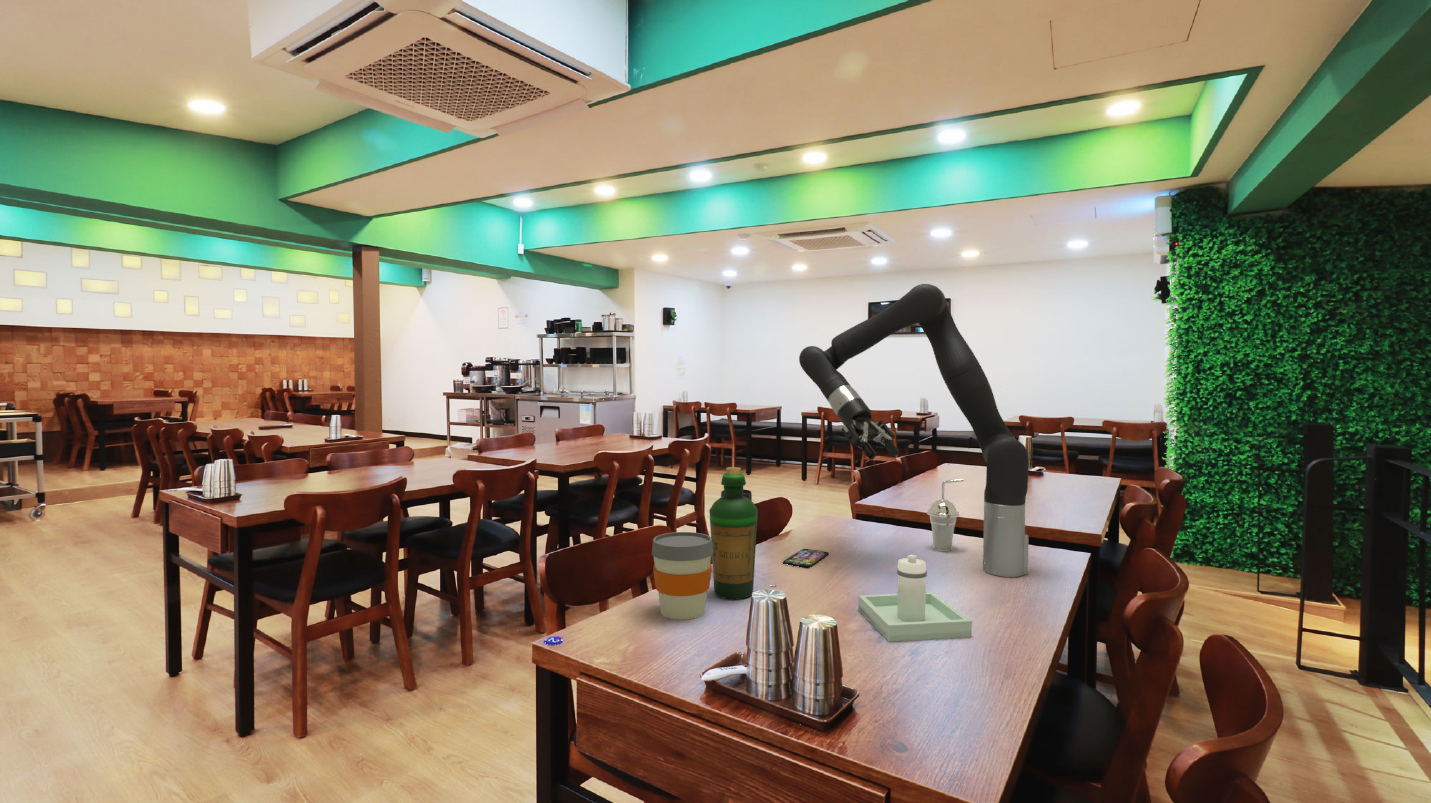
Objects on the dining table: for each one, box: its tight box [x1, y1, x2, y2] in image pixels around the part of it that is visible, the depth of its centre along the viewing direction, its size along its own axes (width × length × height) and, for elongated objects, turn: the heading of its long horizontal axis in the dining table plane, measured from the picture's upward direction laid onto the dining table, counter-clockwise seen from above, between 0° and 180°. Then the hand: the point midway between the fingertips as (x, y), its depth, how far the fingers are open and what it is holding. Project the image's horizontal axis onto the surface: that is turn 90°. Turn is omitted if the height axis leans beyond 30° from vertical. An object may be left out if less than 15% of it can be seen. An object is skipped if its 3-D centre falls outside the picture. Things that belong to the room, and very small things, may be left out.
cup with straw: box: [926, 478, 964, 552], centre depth 180 cm, size 8×9×20 cm
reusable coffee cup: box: [651, 531, 713, 621], centre depth 134 cm, size 12×12×15 cm
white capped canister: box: [896, 554, 928, 622], centre depth 127 cm, size 6×6×12 cm
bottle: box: [709, 466, 759, 600], centre depth 144 cm, size 11×11×28 cm
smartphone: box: [782, 548, 829, 569], centre depth 171 cm, size 8×1×15 cm
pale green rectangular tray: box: [858, 591, 973, 643], centre depth 128 cm, size 16×16×3 cm
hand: (885, 456), depth 158 cm, fingers open, 8 cm apart
